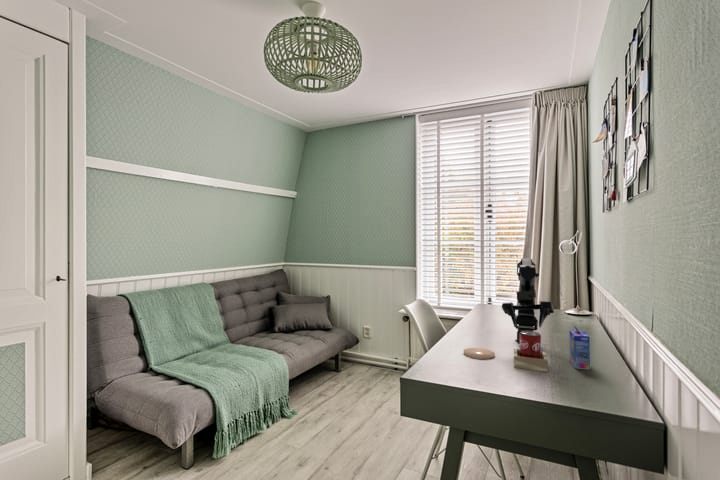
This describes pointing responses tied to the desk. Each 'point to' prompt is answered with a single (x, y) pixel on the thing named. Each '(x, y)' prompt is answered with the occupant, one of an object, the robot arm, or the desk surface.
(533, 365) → the birch box
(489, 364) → the desk surface
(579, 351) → the ink cartridge box
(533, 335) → the soda can
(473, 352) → the coaster
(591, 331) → the desk surface
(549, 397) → the desk surface
